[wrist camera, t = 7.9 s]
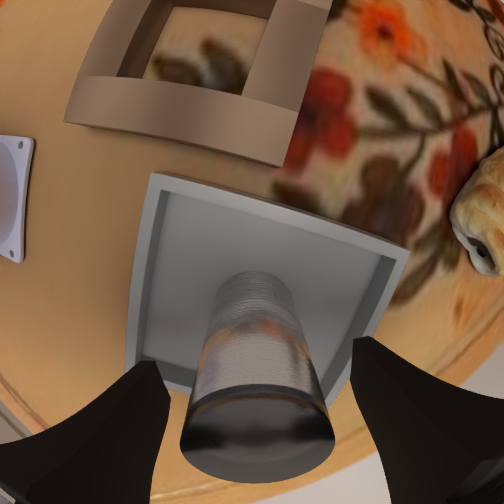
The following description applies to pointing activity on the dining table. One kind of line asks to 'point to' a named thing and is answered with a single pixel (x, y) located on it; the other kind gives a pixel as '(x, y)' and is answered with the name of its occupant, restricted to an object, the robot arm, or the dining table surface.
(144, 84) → the eye block
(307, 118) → the dining table surface
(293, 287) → the tray
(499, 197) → the pastry
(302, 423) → the steel pin
